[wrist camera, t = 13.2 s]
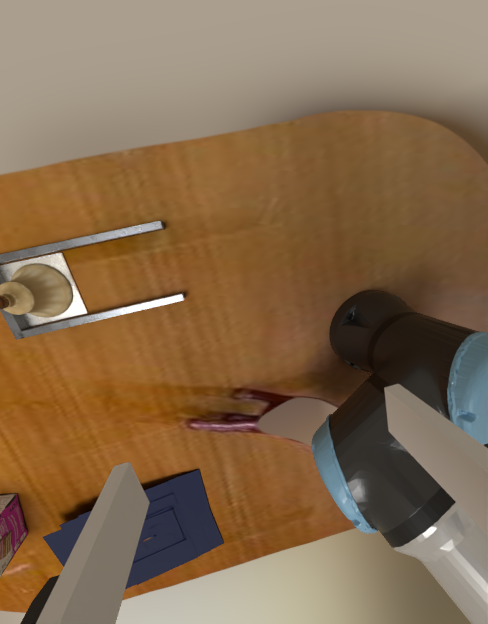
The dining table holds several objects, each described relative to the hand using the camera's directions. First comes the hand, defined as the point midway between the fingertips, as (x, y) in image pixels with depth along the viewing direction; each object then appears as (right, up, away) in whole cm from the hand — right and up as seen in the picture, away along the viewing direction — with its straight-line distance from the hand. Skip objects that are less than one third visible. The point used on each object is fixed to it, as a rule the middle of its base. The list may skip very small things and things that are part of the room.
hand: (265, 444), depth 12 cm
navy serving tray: (-23, -41, +39) cm, 61 cm away
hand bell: (-32, +10, +24) cm, 41 cm away
